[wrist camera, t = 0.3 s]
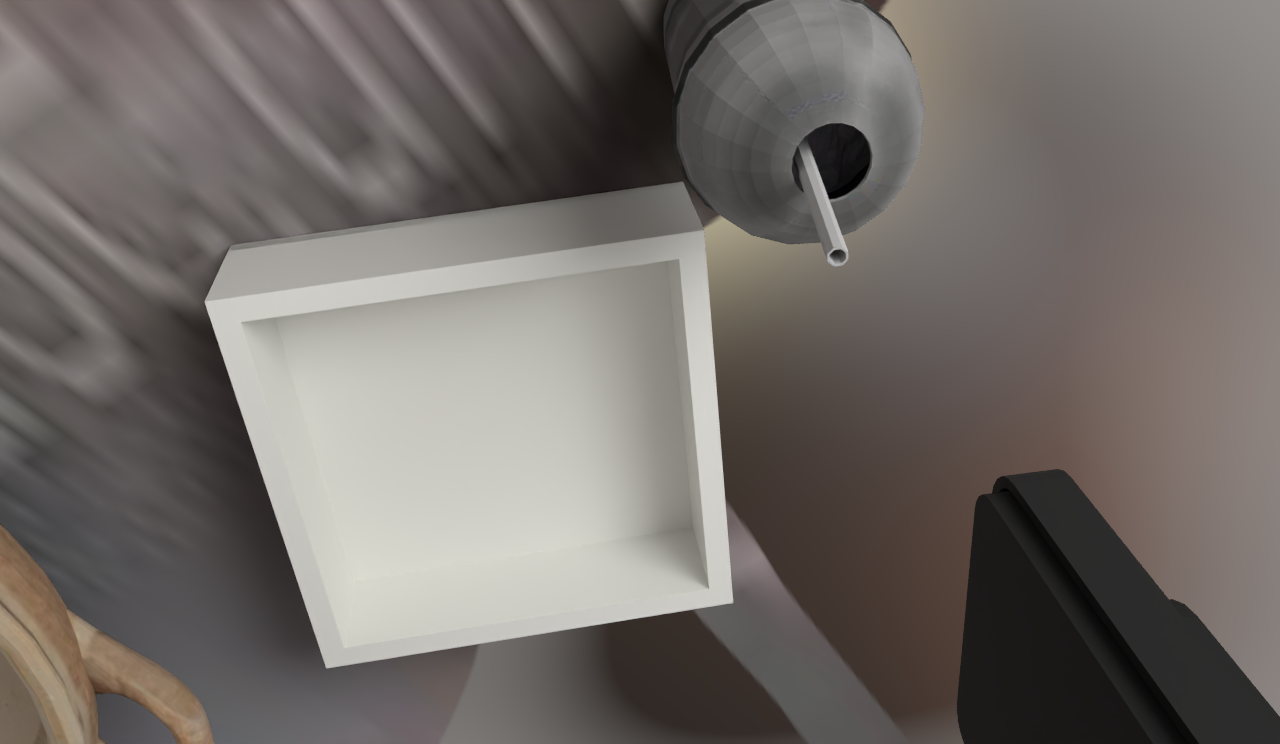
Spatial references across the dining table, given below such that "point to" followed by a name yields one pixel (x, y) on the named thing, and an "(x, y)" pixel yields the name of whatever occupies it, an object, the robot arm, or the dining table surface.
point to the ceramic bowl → (72, 667)
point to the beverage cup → (792, 114)
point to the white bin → (485, 418)
